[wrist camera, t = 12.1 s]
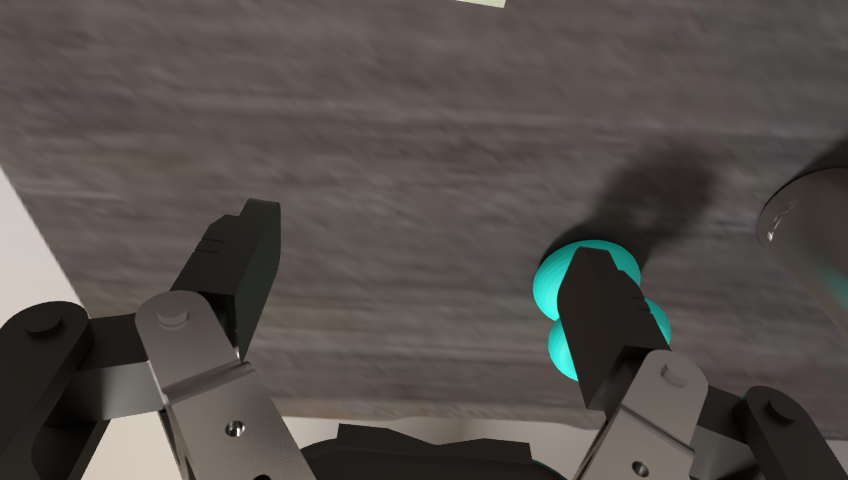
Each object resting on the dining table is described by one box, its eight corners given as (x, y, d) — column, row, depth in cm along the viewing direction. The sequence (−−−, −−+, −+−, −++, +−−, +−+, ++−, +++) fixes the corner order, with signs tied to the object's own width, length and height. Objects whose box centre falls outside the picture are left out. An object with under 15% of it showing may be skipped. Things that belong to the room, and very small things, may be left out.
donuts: (599, 405, 46) (527, 358, 41) (572, 324, 54) (509, 277, 49) (700, 350, 41) (630, 291, 37) (654, 270, 49) (592, 214, 45)
